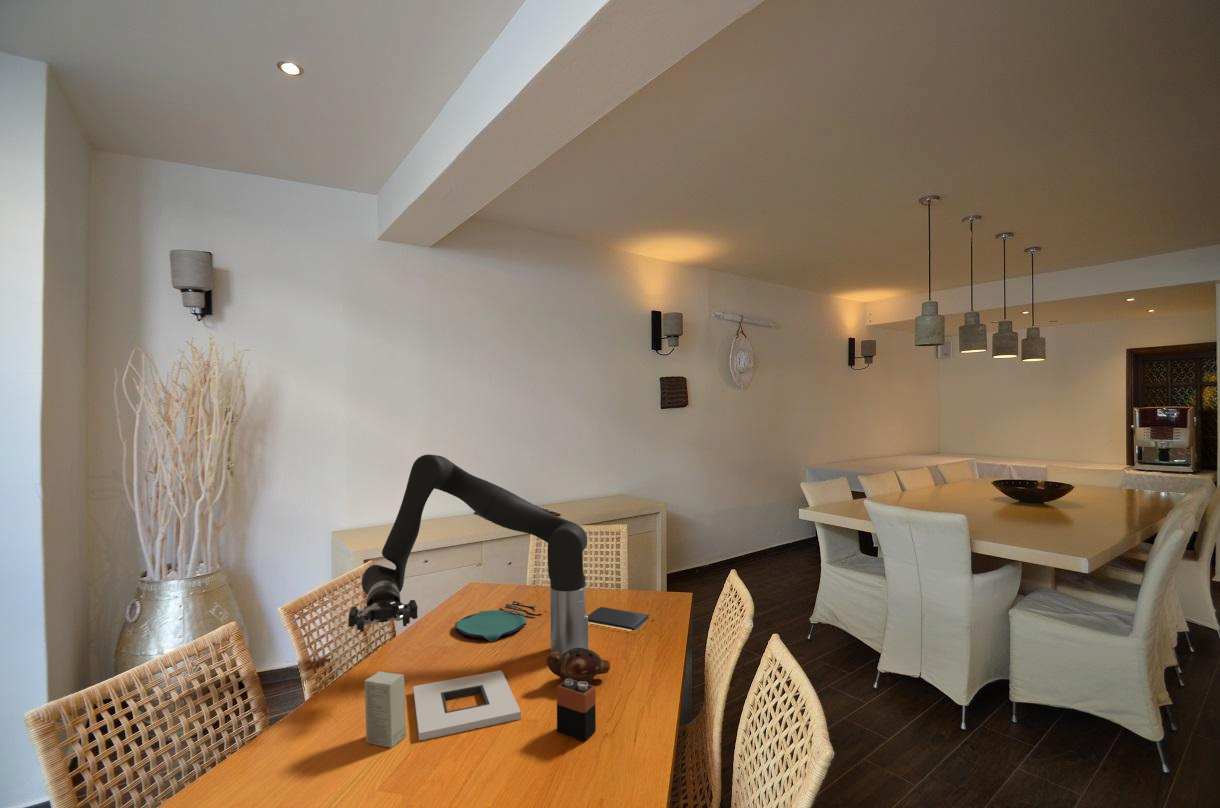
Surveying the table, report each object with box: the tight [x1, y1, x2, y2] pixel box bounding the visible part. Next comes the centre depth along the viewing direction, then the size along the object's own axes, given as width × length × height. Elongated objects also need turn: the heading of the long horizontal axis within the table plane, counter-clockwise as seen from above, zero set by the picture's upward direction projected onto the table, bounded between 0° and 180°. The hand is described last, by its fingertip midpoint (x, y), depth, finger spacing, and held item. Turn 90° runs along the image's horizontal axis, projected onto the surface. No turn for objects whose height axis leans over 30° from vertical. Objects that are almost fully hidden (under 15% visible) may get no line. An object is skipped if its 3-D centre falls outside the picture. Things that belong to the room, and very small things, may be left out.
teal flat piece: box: [454, 600, 538, 642], centre depth 170 cm, size 20×30×2 cm, turn 149°
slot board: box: [412, 670, 522, 742], centre depth 122 cm, size 20×20×2 cm
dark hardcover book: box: [587, 606, 650, 631], centre depth 170 cm, size 20×2×15 cm
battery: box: [556, 679, 597, 742], centre depth 112 cm, size 4×7×10 cm, turn 59°
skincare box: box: [364, 670, 407, 749], centre depth 110 cm, size 6×4×12 cm
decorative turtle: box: [546, 648, 611, 685], centre depth 132 cm, size 10×15×8 cm, turn 112°
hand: (383, 624), depth 121 cm, fingers open, 8 cm apart
